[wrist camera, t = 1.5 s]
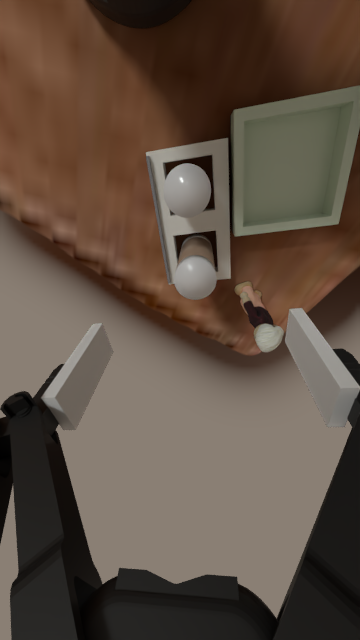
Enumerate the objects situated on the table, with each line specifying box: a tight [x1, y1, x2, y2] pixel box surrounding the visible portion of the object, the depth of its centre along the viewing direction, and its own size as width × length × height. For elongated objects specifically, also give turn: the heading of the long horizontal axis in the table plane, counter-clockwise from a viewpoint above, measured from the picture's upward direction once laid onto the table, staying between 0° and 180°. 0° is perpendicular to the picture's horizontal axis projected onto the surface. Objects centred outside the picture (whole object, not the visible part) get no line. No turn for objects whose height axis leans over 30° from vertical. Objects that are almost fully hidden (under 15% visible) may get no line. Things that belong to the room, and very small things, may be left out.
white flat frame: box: [146, 138, 231, 284], centre depth 30 cm, size 16×9×3 cm, turn 8°
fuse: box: [163, 163, 211, 218], centre depth 25 cm, size 4×4×9 cm
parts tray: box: [230, 85, 360, 236], centre depth 26 cm, size 12×12×3 cm
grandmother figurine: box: [235, 282, 284, 352], centre depth 31 cm, size 8×4×13 cm, turn 56°
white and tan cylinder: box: [174, 234, 217, 300], centre depth 28 cm, size 4×4×11 cm
